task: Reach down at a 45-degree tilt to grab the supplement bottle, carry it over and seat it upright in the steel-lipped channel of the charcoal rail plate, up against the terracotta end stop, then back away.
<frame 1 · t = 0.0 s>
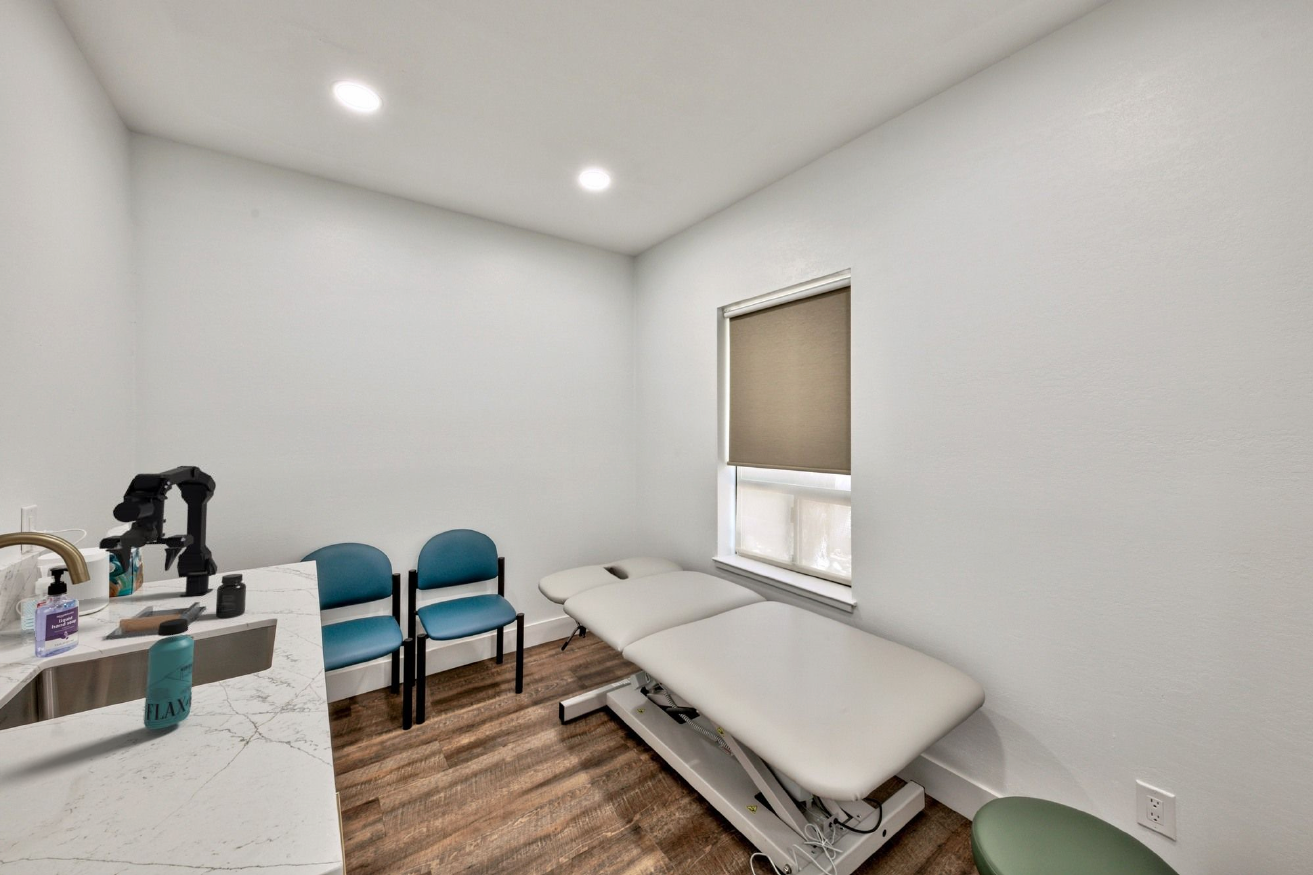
hand: (146, 571, 143), 15 cm above the worktop, tool pointing down, fingers open, 9 cm apart
supplement bottle: (230, 615, 151), on the worktop
rail plate: (157, 625, 141), on the worktop
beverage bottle: (167, 728, 93), on the worktop
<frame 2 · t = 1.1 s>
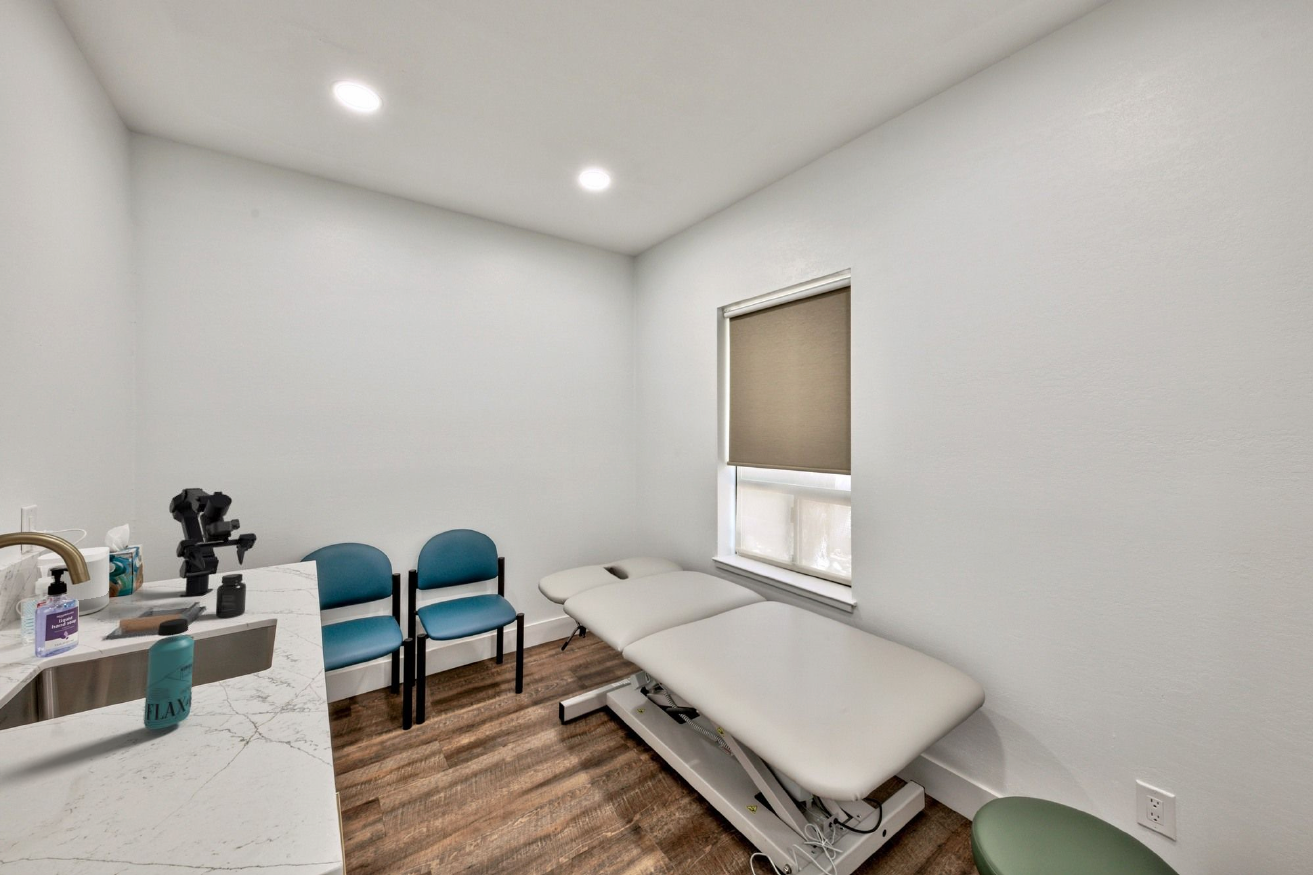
hand: (223, 566, 156), 13 cm above the worktop, tool tilted 45°, fingers open, 9 cm apart
nothing on the worktop moved.
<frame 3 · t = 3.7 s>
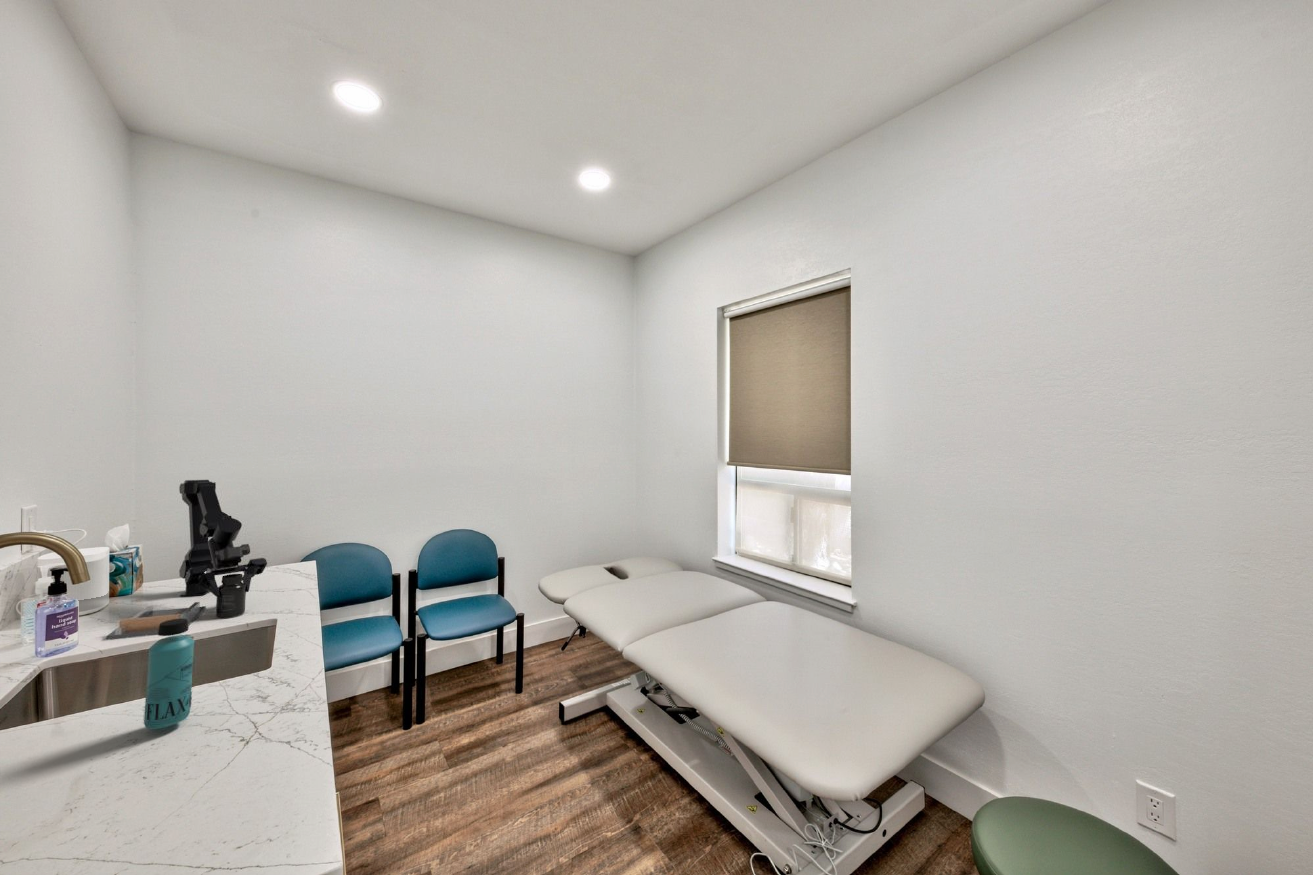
hand: (233, 593, 151), 7 cm above the worktop, tool tilted 45°, fingers closed on supplement bottle, 7 cm apart
supplement bottle: (230, 615, 151), on the worktop, touching gripper
everything else where it was.
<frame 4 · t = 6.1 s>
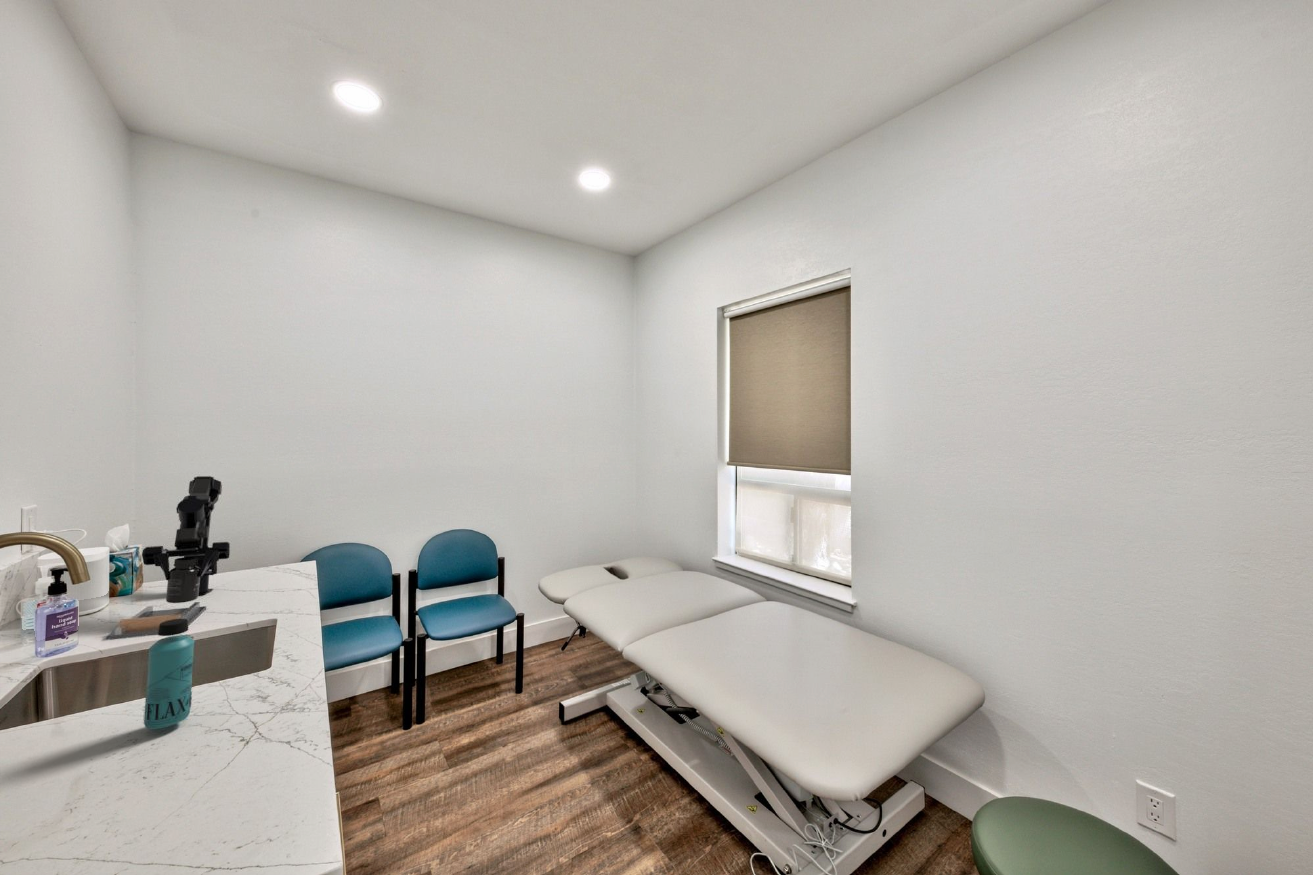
hand: (184, 577, 143), 13 cm above the worktop, tool tilted 45°, fingers closed on supplement bottle, 7 cm apart
supplement bottle: (182, 600, 143), point 6 cm above the worktop, touching gripper
everything else where it was.
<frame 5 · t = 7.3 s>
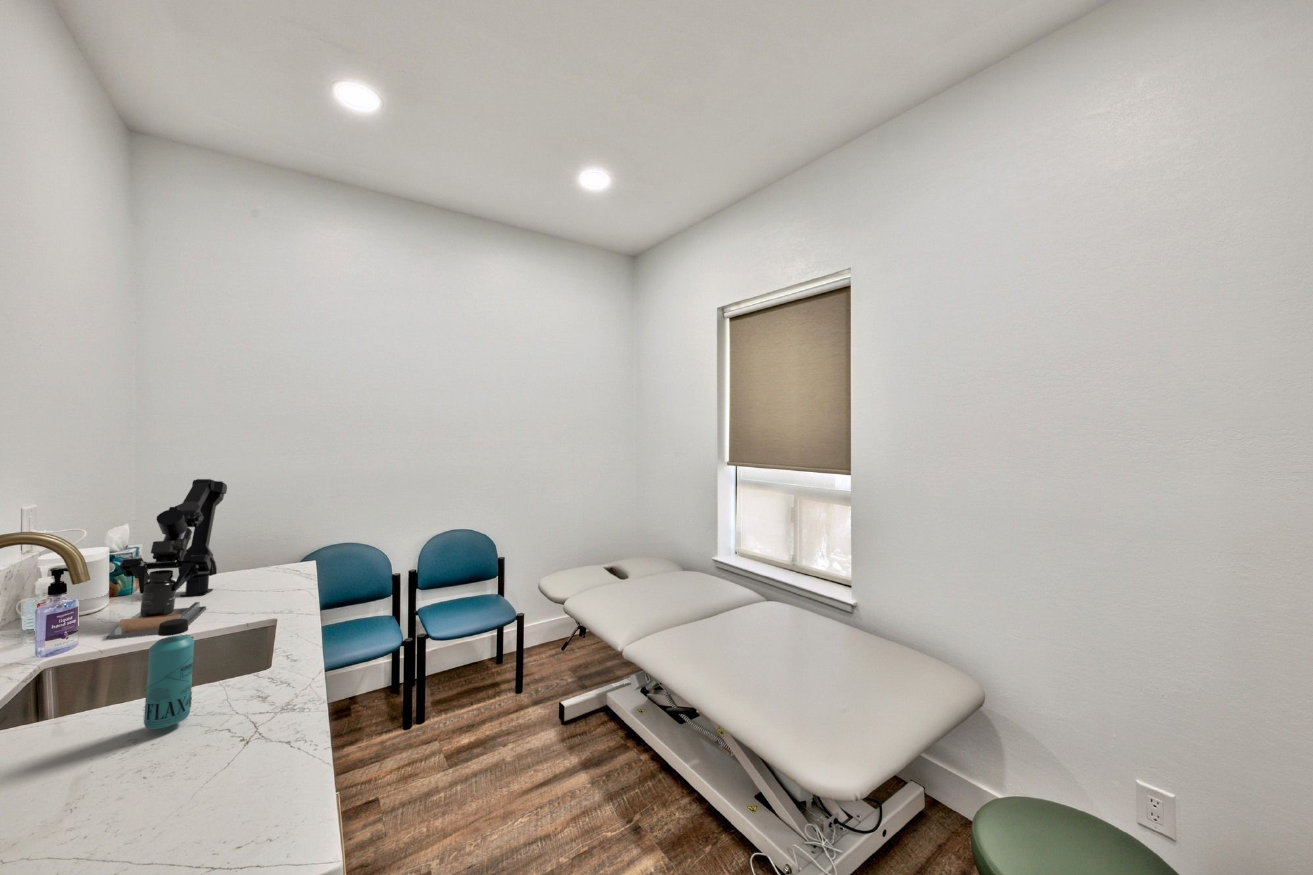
hand: (158, 591, 140), 10 cm above the worktop, tool tilted 45°, fingers closed on supplement bottle, 7 cm apart
supplement bottle: (157, 614, 141), point 3 cm above the worktop, touching gripper
everything else where it was.
when the fingers open (8 cm above the worktop, at t = 8.2 s): supplement bottle stays where it is, resting on rail plate.
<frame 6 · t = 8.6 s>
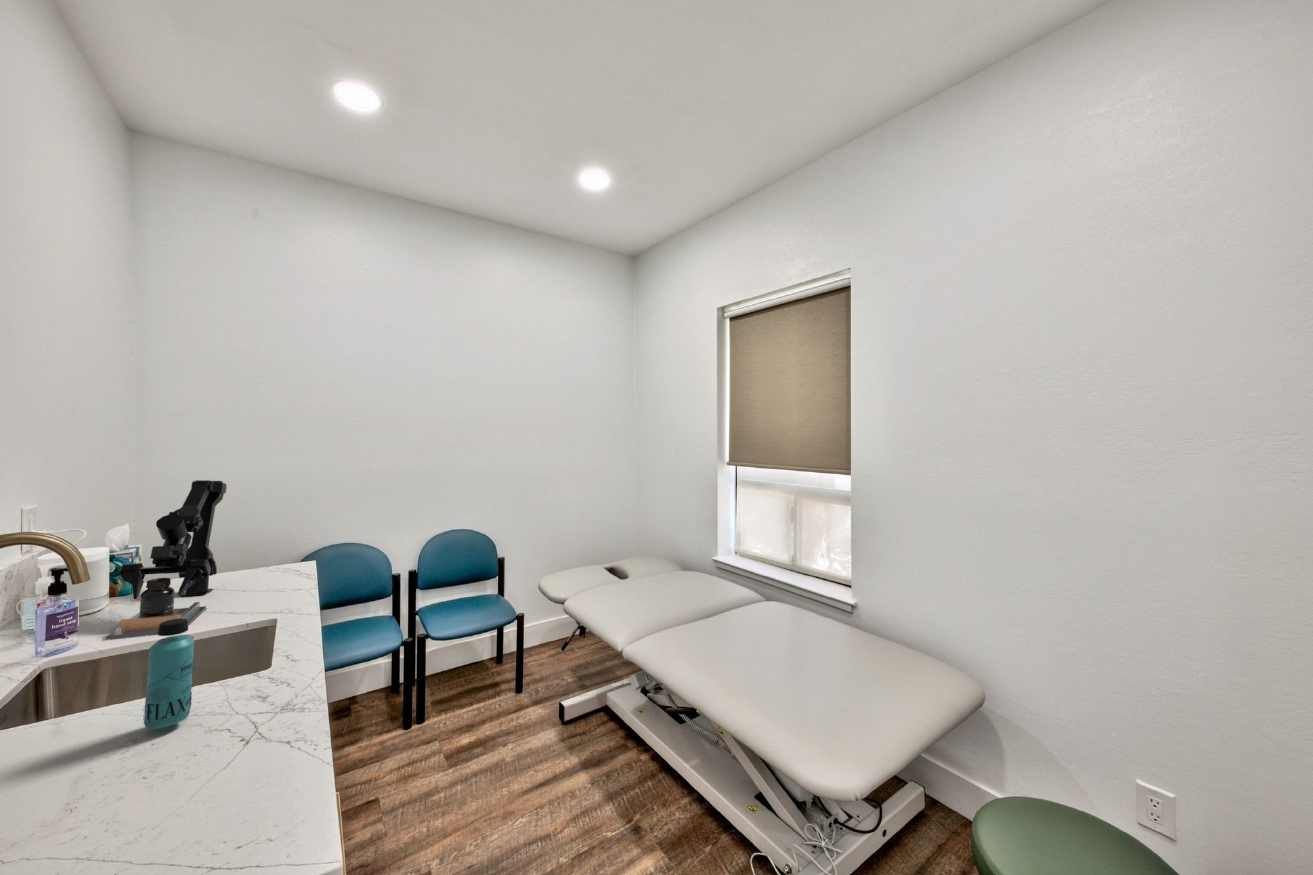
hand: (157, 596, 140), 9 cm above the worktop, tool tilted 45°, fingers open, 9 cm apart
supplement bottle: (156, 622, 141), point 1 cm above the worktop, touching rail plate
everything else where it was.
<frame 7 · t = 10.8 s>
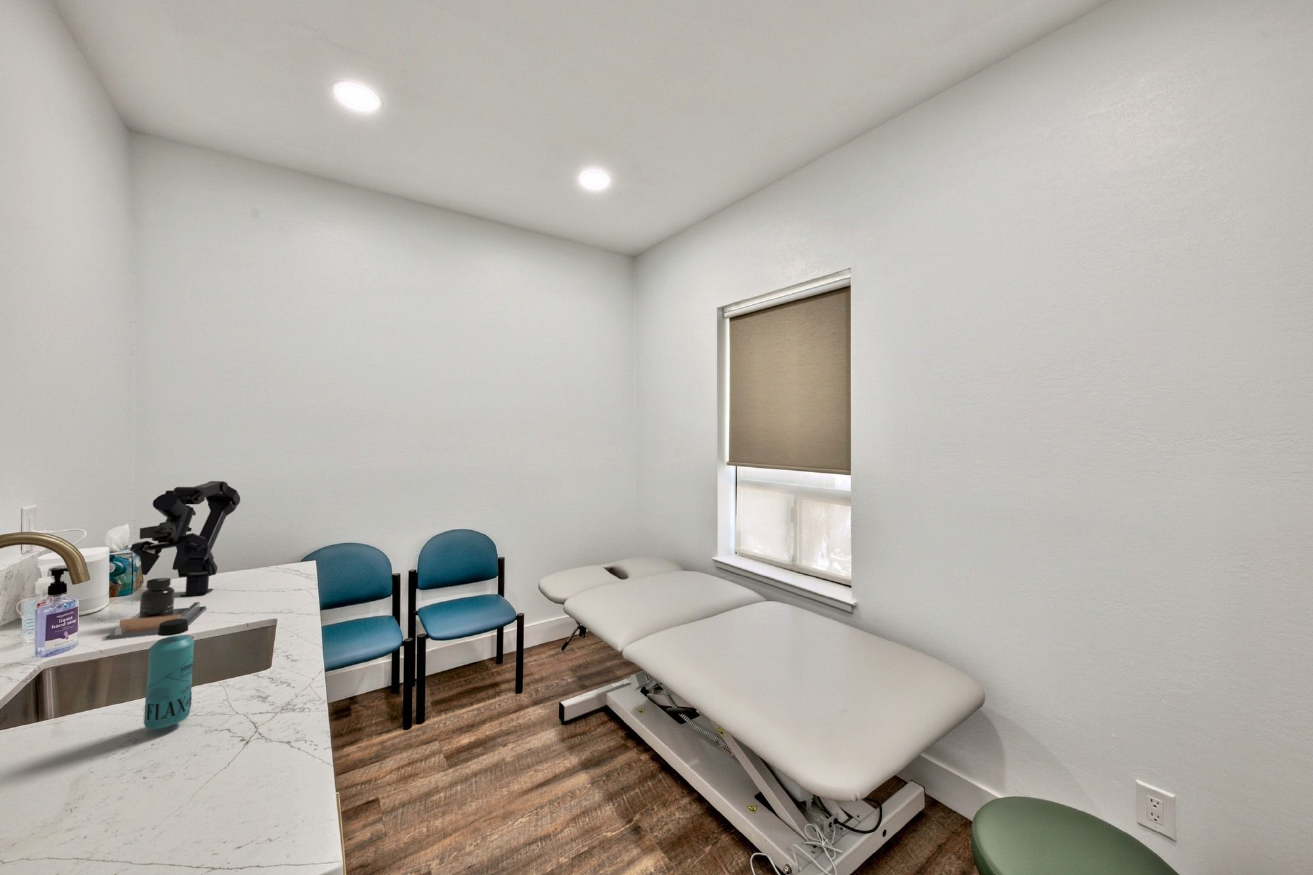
hand: (159, 572, 148), 13 cm above the worktop, tool tilted 30°, fingers open, 9 cm apart
nothing on the worktop moved.
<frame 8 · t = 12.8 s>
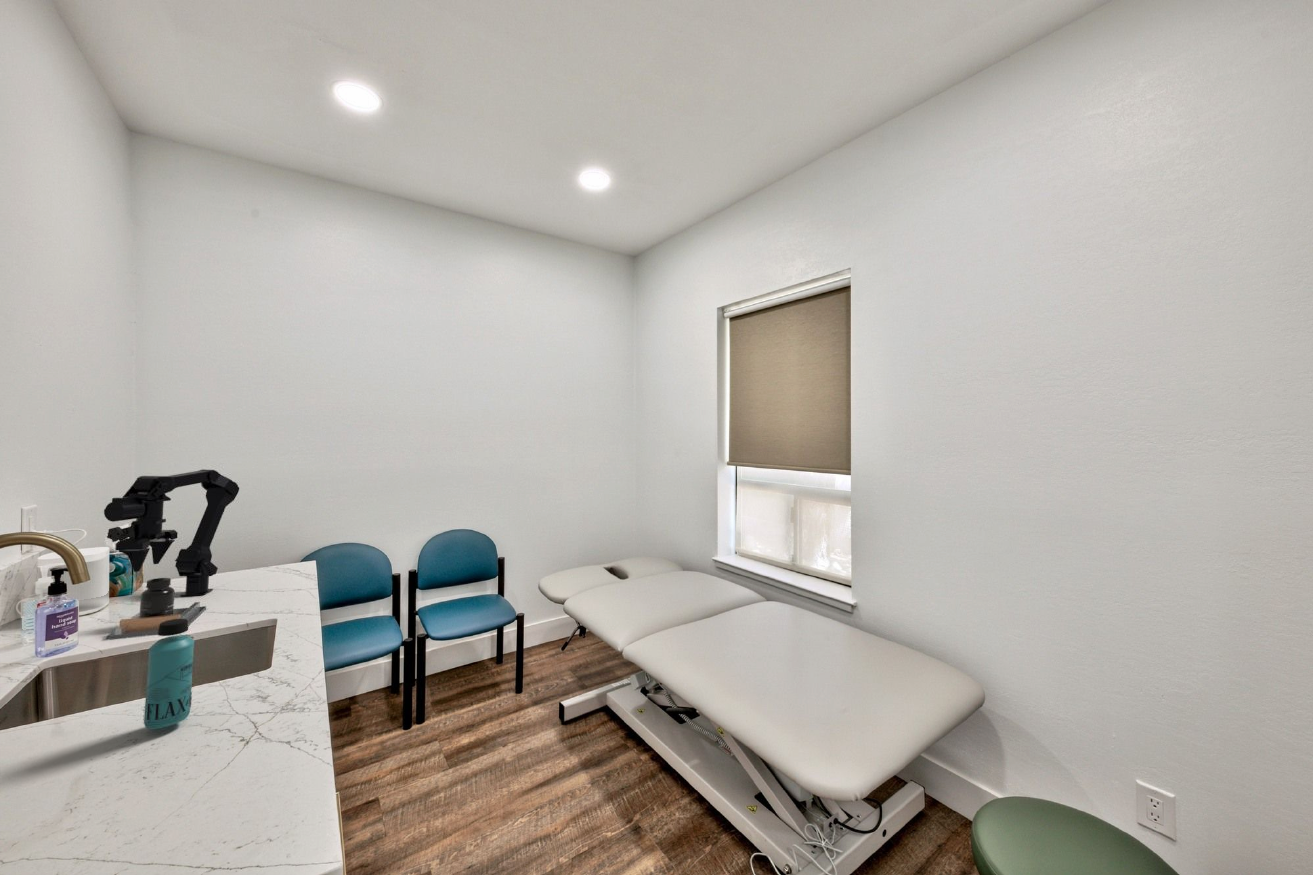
hand: (146, 567, 152), 13 cm above the worktop, tool pointing down, fingers open, 9 cm apart
nothing on the worktop moved.
at the end: supplement bottle 0.4 cm off-centre on the rail plate, point 0.8 cm above the rail plate's base; supplement bottle tilted 0°; the gripper is holding nothing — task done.
